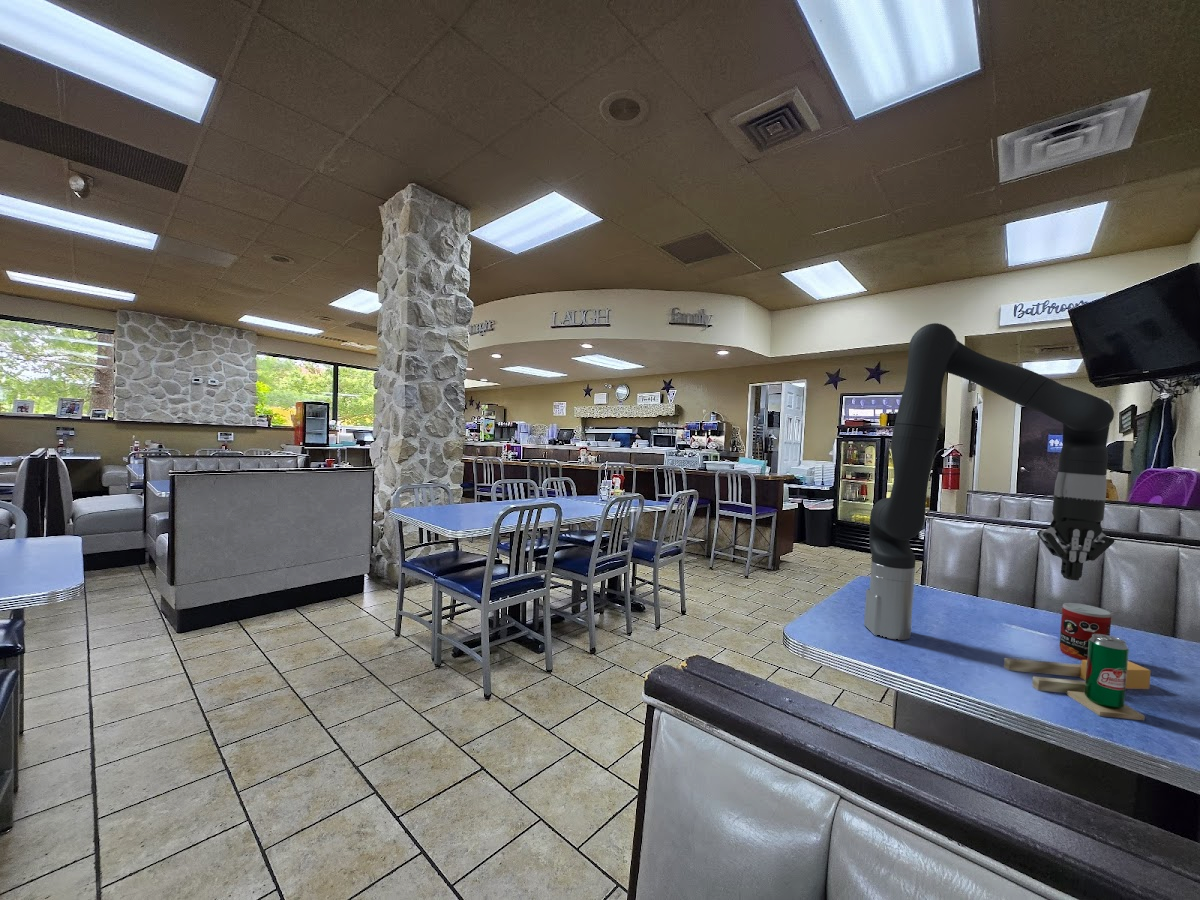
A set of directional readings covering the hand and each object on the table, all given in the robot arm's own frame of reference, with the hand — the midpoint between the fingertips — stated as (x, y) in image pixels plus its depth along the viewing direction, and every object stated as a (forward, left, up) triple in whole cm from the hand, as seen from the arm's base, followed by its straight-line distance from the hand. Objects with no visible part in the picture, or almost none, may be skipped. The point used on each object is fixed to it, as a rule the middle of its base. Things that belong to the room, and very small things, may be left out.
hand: (1070, 579), depth 100 cm
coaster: (-2, -12, -20) cm, 24 cm away
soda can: (-2, -12, -20) cm, 23 cm away
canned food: (+13, +12, -21) cm, 27 cm away
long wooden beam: (+8, -1, -21) cm, 22 cm away
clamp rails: (-3, -3, -20) cm, 21 cm away
